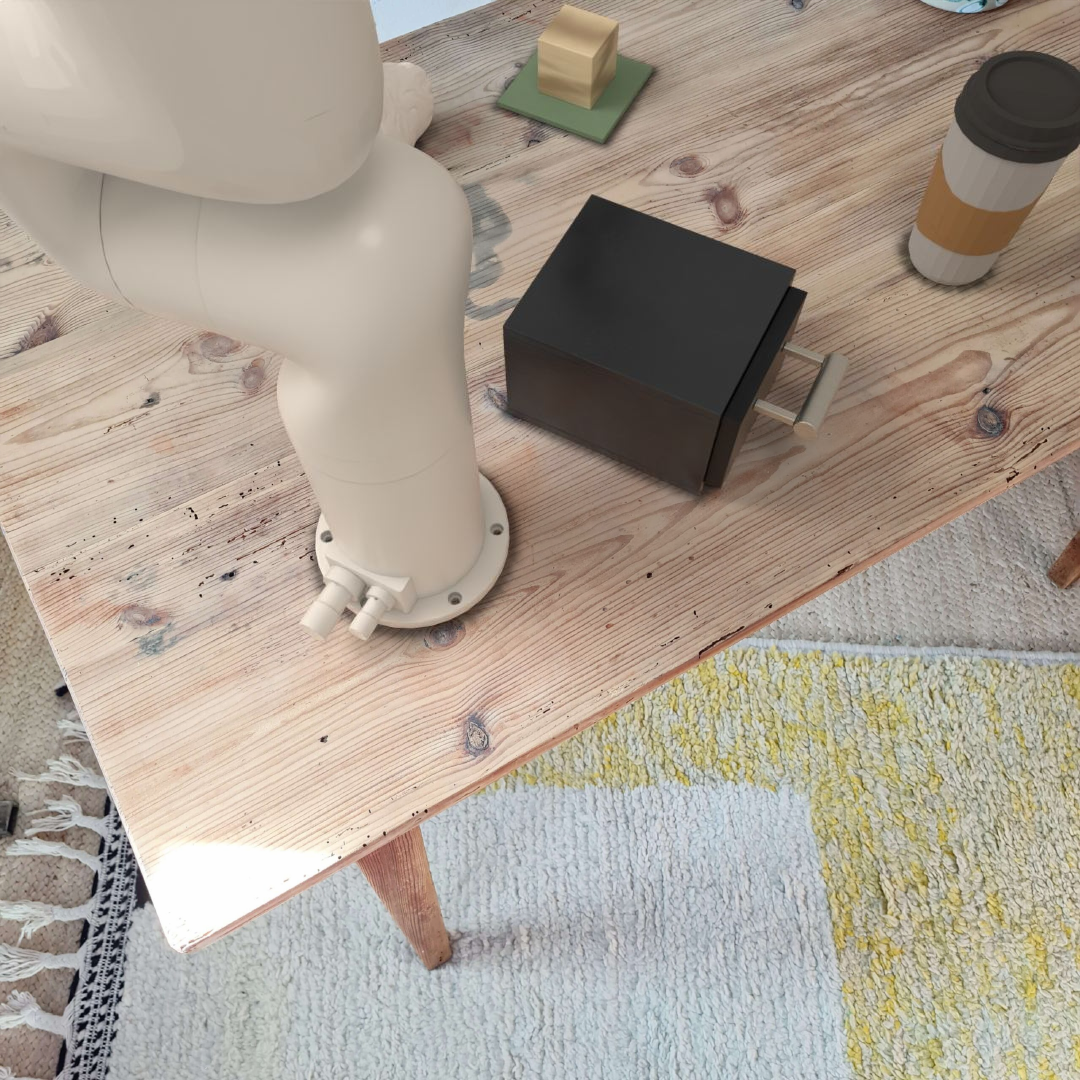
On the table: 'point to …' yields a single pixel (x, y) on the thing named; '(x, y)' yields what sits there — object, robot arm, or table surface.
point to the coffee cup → (995, 162)
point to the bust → (406, 102)
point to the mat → (573, 117)
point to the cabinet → (639, 339)
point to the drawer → (761, 380)
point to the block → (577, 56)
